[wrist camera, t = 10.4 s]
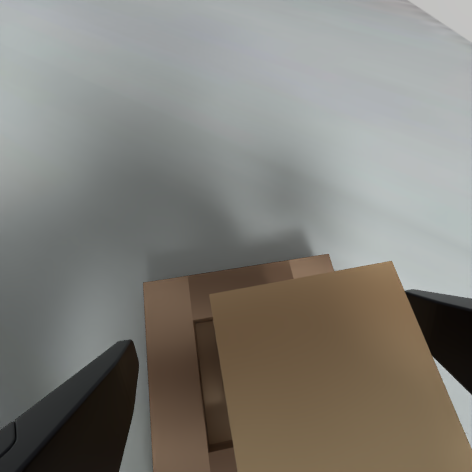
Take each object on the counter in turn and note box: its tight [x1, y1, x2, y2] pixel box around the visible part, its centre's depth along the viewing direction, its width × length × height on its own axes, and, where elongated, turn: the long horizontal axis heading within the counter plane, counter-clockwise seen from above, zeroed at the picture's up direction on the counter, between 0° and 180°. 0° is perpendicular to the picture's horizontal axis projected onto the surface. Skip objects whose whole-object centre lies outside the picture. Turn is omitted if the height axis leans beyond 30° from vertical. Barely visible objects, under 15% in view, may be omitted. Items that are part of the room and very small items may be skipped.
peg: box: [209, 261, 472, 472], centre depth 11 cm, size 4×4×12 cm
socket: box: [143, 254, 334, 472], centre depth 16 cm, size 11×11×2 cm
